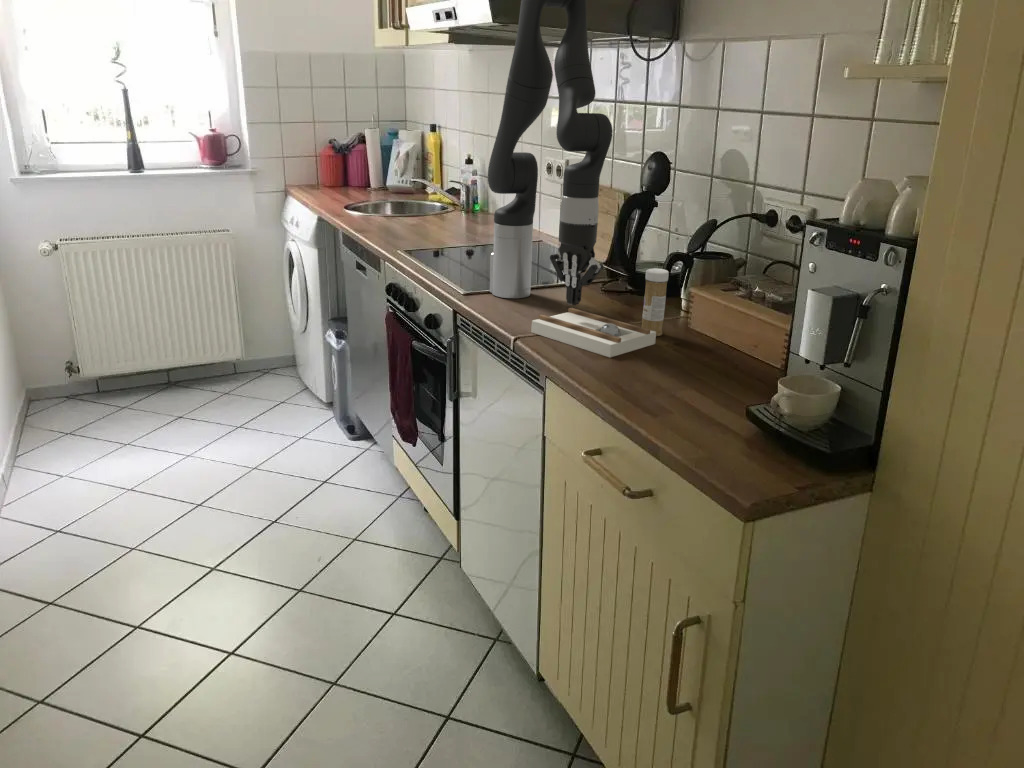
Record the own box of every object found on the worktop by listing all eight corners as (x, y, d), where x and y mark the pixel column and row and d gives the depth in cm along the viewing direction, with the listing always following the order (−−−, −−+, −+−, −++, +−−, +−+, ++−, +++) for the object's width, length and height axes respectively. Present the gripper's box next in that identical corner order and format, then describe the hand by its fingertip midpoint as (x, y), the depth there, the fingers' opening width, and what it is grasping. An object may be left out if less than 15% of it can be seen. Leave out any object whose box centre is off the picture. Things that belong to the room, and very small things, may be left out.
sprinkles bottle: (638, 330, 170) (643, 267, 166) (659, 330, 171) (665, 267, 166) (643, 337, 166) (649, 272, 161) (665, 337, 166) (671, 272, 162)
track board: (531, 332, 167) (531, 316, 166) (576, 321, 176) (577, 306, 175) (609, 357, 153) (611, 340, 151) (655, 343, 162) (656, 328, 161)
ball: (599, 321, 159) (614, 332, 157) (612, 318, 162) (626, 328, 160) (593, 338, 161) (607, 349, 159) (605, 334, 164) (619, 345, 162)
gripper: (541, 216, 162) (537, 300, 168) (591, 226, 153) (585, 314, 159) (567, 213, 167) (562, 294, 173) (616, 222, 158) (609, 308, 164)
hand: (573, 304), depth 166 cm, fingers closed
